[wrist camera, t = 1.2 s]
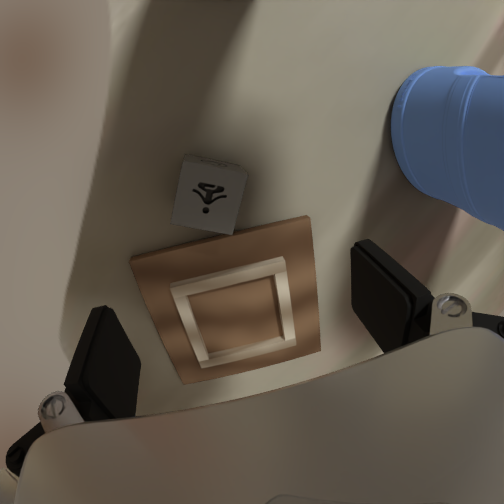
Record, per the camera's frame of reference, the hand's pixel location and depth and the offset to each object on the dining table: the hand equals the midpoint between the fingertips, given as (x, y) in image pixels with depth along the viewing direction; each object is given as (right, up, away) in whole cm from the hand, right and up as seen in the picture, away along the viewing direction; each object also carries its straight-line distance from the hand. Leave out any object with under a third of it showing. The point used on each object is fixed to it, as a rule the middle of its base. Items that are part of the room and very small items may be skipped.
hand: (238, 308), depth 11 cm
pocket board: (-1, -4, +22) cm, 23 cm away
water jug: (+22, +16, +18) cm, 33 cm away
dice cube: (-4, +8, +16) cm, 19 cm away
